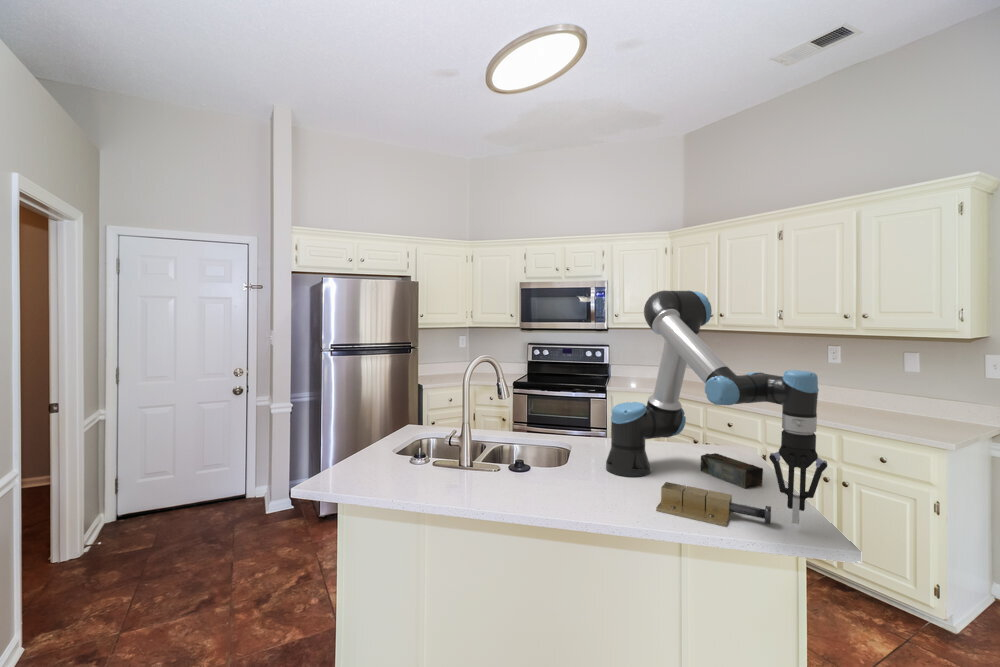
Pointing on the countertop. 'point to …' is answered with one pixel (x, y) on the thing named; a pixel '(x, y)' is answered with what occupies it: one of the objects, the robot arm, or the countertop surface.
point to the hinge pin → (752, 511)
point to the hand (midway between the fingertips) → (795, 521)
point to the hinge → (695, 503)
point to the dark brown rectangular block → (732, 470)
